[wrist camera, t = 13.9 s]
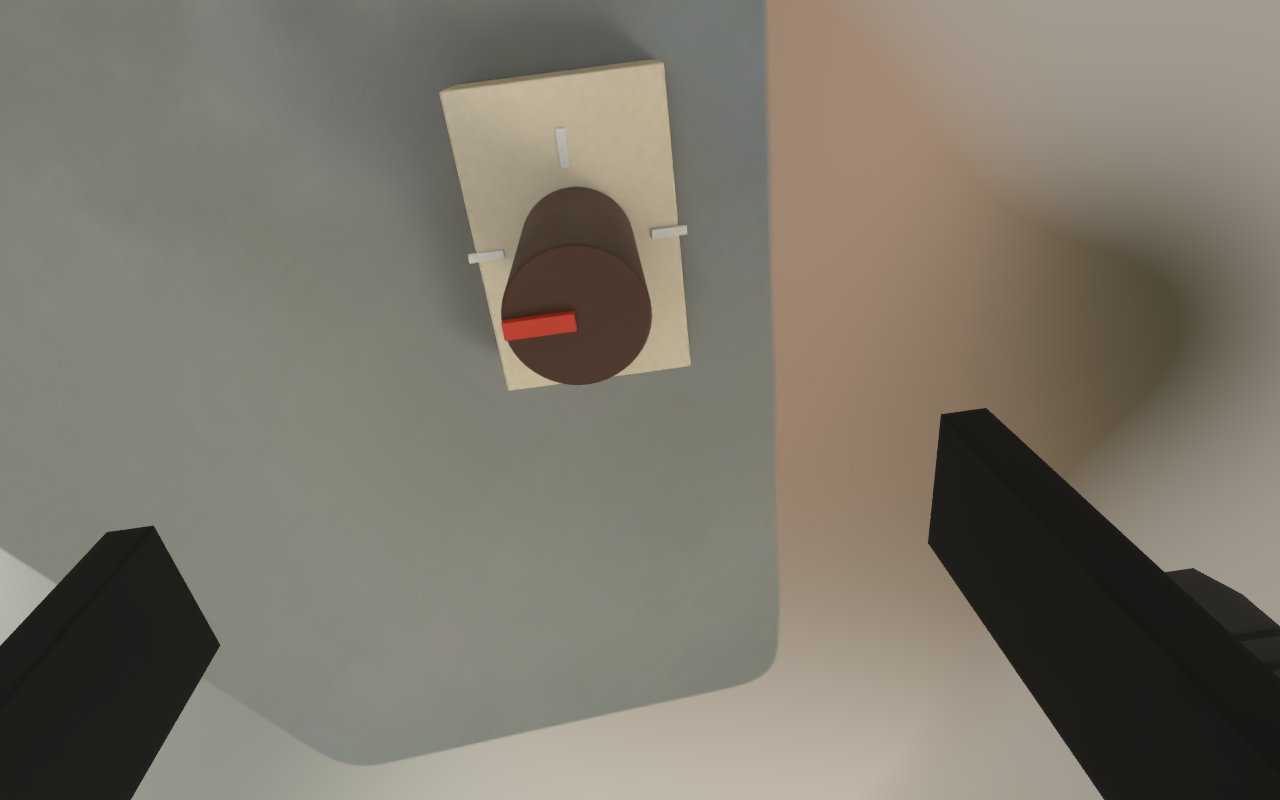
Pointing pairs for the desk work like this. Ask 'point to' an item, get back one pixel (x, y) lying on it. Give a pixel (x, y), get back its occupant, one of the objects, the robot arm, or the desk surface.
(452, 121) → the dimmer panel
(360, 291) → the desk surface
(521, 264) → the dimmer knob
